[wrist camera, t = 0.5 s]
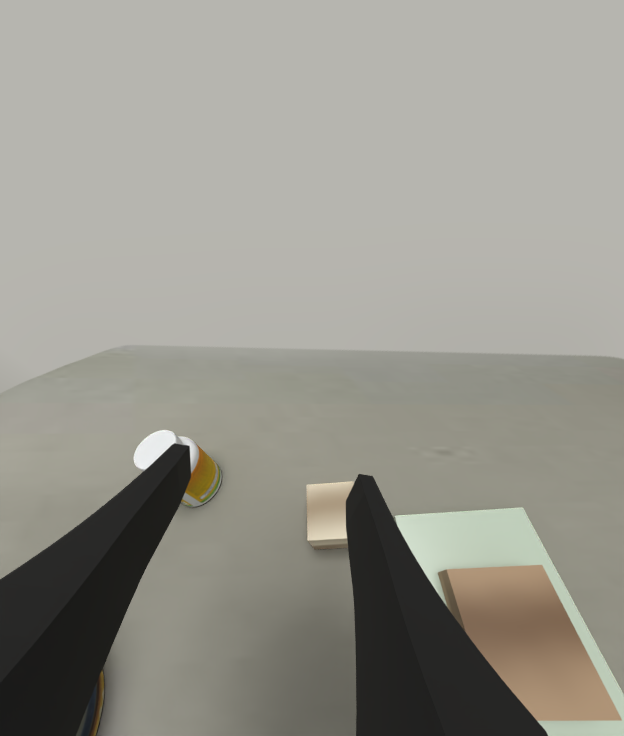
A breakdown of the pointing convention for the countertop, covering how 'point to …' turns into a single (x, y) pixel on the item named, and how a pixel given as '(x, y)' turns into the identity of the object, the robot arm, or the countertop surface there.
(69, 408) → the countertop surface
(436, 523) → the baseplate
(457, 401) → the countertop surface
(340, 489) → the maple brick
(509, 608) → the base block
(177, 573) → the countertop surface
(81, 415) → the countertop surface
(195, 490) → the supplement bottle
